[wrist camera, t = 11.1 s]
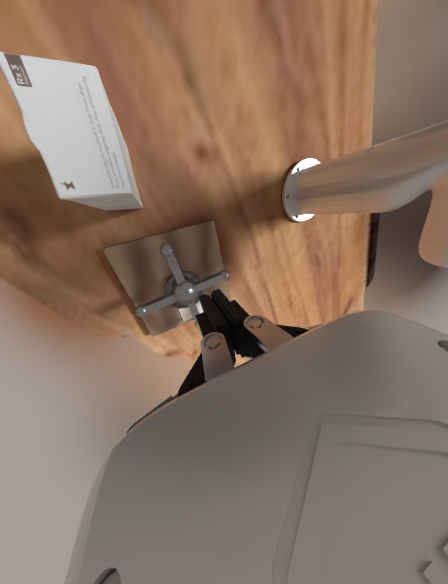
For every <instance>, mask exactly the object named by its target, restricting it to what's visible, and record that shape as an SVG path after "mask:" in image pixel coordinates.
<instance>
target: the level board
mask: <svg viewBox="0 0 448 584" xmlns="http://www.w3.org/2000/svg"><path fill="white" fill-rule="evenodd" d="M163 243H169V244H171V245H172V246H173V248H174V256H175V258H176V260H177V263H178V265H179V267H180V270H181V271H189V272H192V273H194V274H196V275H197V276H198V277H199V278H200V280H202V279H204V278H206V277H209V276H211V275H214V274H216V273H218V272H220V271H221V270H224V266H223V261H222V256H221V252H220V247H219V242H218V237H217V232H216V227H215V223H214V221H208V222H204V223H200V224H196V225H192V226H188V227H184V228H180V229H176V230H172V231H169V232H165V233H161V234H157V235H153V236H149V237H145V238H141V239H137V240H133V241H129V242H125V243H121V244H117V245H113V246H109V247H106V248H103V249H102V250H103V252H104V253H105V255H106V257H107V259H108V260H109V262H110V264H111V266H112V267H113V269H114V271H115V273H116V274H117V276H118V278H119V280H120V281H121V283H122V285H123V287H124V288H125V290H126V292H127V294H128V295H129V297H130V299H131V301H132V302H133V304H134V306H135V308H136V307H137V306H138V305H140V304H145V303H147V302H150V301H152V300H155V299H157V298H159V297H162V296H164V295H165V293H164V286H165V283H166V281H167V279H168V278H169V277H170V276H171V275H173V273H172V271H171V269H170V266H169V264H168V262H167V260H166V258H165V257H164V256H163V255H162V254H161V253H160V250H159V249H160V246H161V245H162V244H163ZM217 289H220V290H221V291H222V293H223V294H224V295H225V296H226V297H227V298H228V299H229V301H230V302H231V300H230V295H229V290H228V285H227V280H226V281H222V282H219V283H217V284H215V285H213V286H210V287H208V288H206V289H204V292H203V294H206V295H209V296H210V297H211V293H212V291H214V290H217ZM211 299H212V298H211ZM196 307H197V309H198V311H199V314H200V313H203V309H202V306H201V303H200V300H199V302H198V303H196ZM141 318H142V320H143V322H144V323H145V325H146V327H147V328H148V330H149V332H150V334H151V335H152V337H153V336H156V335H158V334H160V333H163V332H165V331H168V330H170V329H172V328H175V327H177V326H180V325H182V324H184V323H187V322H189V321H192V320H194V318H193V316H192V314H191V312H190V309H189V308H177V307H174V306H172V305H171V304H170V305H167V306H165V307H163V308H160V309H158V310H156V311H154V312H151V313H149V314H147V315H146V316H144V317H141Z"/></svg>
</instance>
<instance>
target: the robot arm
mask: <svg viewBox="0 0 448 584" xmlns="http://www.w3.org/2000/svg"><path fill="white" fill-rule="evenodd" d="M427 190H432V191H433V197H432V201H431V206H430V210H429V213H428V216H427V219H426V222H425V225H424V228H423V231H422V235H421V238H420V242H419V248H418V249H419V254H420V256H421V257H422V258H423V259H424V260H425V261H427V262H429V263H431V264H434V265H437V266H441V267H445V268H448V120H447V121H444V122H442V123H439V124H436V125H433V126H430V127H428V128H425V129H423V130H419V131H416V132H413V133H411V134H408V135H405V136H401V137H398V138H395V139H392V140H389V141H387V142H384V143H380V144H377V145H375V146H371V147H368V148H365V149H362V150H359V151H356V152H353V153H350V154H347V155H343V156H340V157H337V158H334V159H331V160H328V161H325V162H322V163H320V162H319V161H317V160H316V159H313V158H307V159H304V160H302V161H300V162H298V163H297V164H295V165H294V166H293V168H292V169H291V170H290V172H289V173H288V175H287V178H286V180H285V183H284V186H283V193H282V201H283V207H284V210H285V212H286V214H287V216H288V217H289V218H290V219H292V220H294V221H306V220H308V219H310V218H311V217H312V216H313V215H314V214H347V213H380V212H387V211H391V210H394V209H397V208H399V207H401V206H403V205H405V204H407V203H408V202H410V201H412V200H413V199H415V198H416V197H418V196H419V195H421V194H422V193H424V192H426V191H427ZM211 298H212V299H211ZM199 300H200V303H201V306H202V309H203V313H200V314H197V315H195V316H196V319H197V322H198V325H199V327H200V330H201V333H202V335H203V339H202V341H201V351H202V352H201V354H200V356H199V357H198V359H197V361H196V362H195V364H194V365H193V367H192V369H191V370H190V372H189V374H188V375H187V377H186V379H185V380H184V382H183V384H182V385H181V387H180V389H179V391H178V394H176V395H175V396H174V397H173V396H170V397H169V398H167V399H166V400H165V401H163V402H162V403H161V404H159V405H158V406H157V407H155V408H154V409H153V410H151V411H150V412H149V413H147V414H146V415H145V416H143V417H142V418H141V419H139V420H138V421H137V422H135V423H134V424H133V425H132V426H131V427H130V428H129V430H128V431H127V433H126V435H125V436H124V437H123V438H122V439H121V440H120V441H119V442H118V443H117V444H116V446H115V447H114V448H113V449H112V450H111V451H110V453H109V454H108V456H107V457H106V458H105V460H104V461H103V463H102V465H101V467H100V469H99V471H98V473H97V475H96V478H95V480H94V482H93V485H92V488H91V490H90V493H89V496H88V499H87V502H86V506H85V509H84V512H83V515H82V519H81V523H80V526H79V530H78V533H77V537H76V540H75V544H74V548H73V552H72V556H71V560H70V564H69V568H68V572H67V576H66V580H65V583H64V584H448V335H446V334H443V333H441V332H439V331H436V330H434V329H432V328H429V327H427V326H424V325H422V324H419V323H417V322H414V321H412V320H409V319H406V318H404V317H401V316H398V315H395V314H392V313H389V312H385V311H379V310H367V311H358V312H353V313H349V314H346V315H343V316H340V317H338V318H335V319H333V320H331V321H328V322H326V323H324V324H320V325H316V326H312V327H308V330H307V329H304V328H299V327H291V326H283V325H275V324H274V323H272V322H271V321H269V320H268V319H266V318H265V317H263V316H261V315H251V316H249V314H248V313H247V312H246V311H245V310H244V309H243V308H242V307H241V306H240V305H239V304H238V303H237V302H236V301H235V300H233V301H231V302H230V301H229V299H228V298H227V297H226V296H225V295H224V294H223V293H222V291H221V290H220V289H217V290H214V291H212V293H211V297H210V296H209V295H206V294H203V295H200V296H199ZM234 350H235V352H236V354H237V355H238V354H240V355H241V357H242V358H243V357H245V356H246V357H250V360H249V361H247V362H245V363H243V364H241V365H239V366H237V367H236V368H235V367H234V364H235V362H236V358H235V352H234ZM116 570H117V571H116Z"/></svg>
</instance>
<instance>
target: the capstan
mask: <svg viewBox="0 0 448 584" xmlns="http://www.w3.org/2000/svg"><path fill="white" fill-rule="evenodd" d="M159 250H160V253H161V254H162V255H163V256H164V257H165V258H166V260H167V262H168V264H169V266H170V269H171V271H172V273H173V275H171V276H170V277H169V278H168V279H167V281H166V283H165V286H164V293H165V295H164V296H162V297H159V298H157V299H155V300H152V301H150V302H147V303H145V304H140V305H138V306H137V307H136V308H135V314H136V315H137V316H139V317H144V316H146V315H147V314H149V313H151V312H154V311H156V310H158V309H160V308H163V307H165V306H167V305H170V304H171V305H172V306H174V307H177V308H189V309H190V312H191V314H192V316H193V318H194V320H195V327H196V328H198V329H200V327H199V325H198V322H197V319H196V316H195V315H197V314H199V311H198V309H197V307H196V303H198V302H199V296H200V295H203V292H204V289H206V288H208V287H210V286H213V285H215V284H217V283H219V282H222V281H226V280H228V279H229V277H230V274H229V272H228V271H227V270H221V271H220V272H218V273H216V274H214V275H211V276H209V277H206V278H204V279H202V280H200V278H199V277H198V276H197V275H196V274H194V273H192V272H189V271H181V270H180V267H179V265H178V263H177V260H176V258H175V256H174V248H173V246H172V245H171V244H169V243H163V244H162V245H161V246H160V249H159Z"/></svg>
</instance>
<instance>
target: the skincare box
mask: <svg viewBox="0 0 448 584" xmlns="http://www.w3.org/2000/svg"><path fill="white" fill-rule="evenodd" d="M0 69H1V71H2V73H3V75H4V77H5V79H6V81H7V83H8V85H9V87H10V89H11V91H12V94H13V96H14V98H15V100H16V102H17V104H18V107H19V109H20V111H21V113H22V115H23V120H24V125H25V128H26V131H27V133H28V135H29V137H30V139H31V141H32V143H33V144H34V145H35V146H36V148H37V149H38V150H39V152H40V154H41V157H42V159H43V161H44V163H45V165H46V168H47V170H48V172H49V174H50V177H51V180H52V182H53V185H54V188H55V190H56V193H57V195H58V197H59V198H60V199H64V200H69V201H73V202H76V203H80V204H84V205H88V206H91V207H95V208H99V209H102V210H106V211H109V210H124V209H139V208H143V205H142V202H141V199H140V196H139V192H138V189H137V186H136V182H135V178H134V174H133V170H132V166H131V162H130V157H129V152H128V149H127V146H126V143H125V141H124V138H123V135H122V133H121V130H120V128H119V125H118V123H117V120H116V117H115V115H114V112H113V110H112V108H111V105H110V103H109V101H108V98H107V95H106V92H105V89H104V87H103V84H102V82H101V79H100V76H99V73H98V70H97V68H96V67H95V66H90V65H85V64H78V63H72V62H65V61H58V60H51V59H44V58H37V57H31V56H24V55H16V54H10V53H4V52H0Z"/></svg>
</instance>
